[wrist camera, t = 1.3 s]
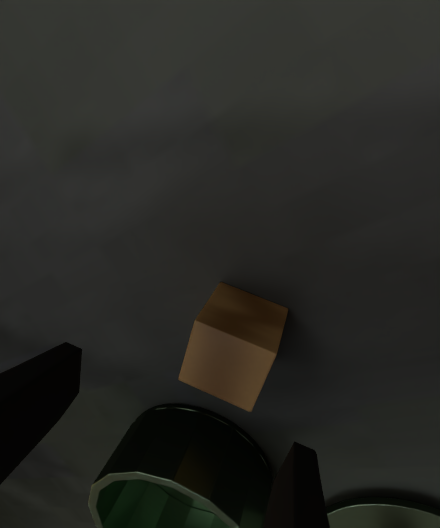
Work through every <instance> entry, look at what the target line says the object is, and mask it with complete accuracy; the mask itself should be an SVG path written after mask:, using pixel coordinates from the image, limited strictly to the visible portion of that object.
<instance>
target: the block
mask: <svg viewBox="0 0 440 528" xmlns="http://www.w3.org/2000/svg"><path fill="white" fill-rule="evenodd" d="M287 313H288V308H286V307H283V306H281V305H278V304H275V303H273V302H270V301H268V300H265V299H263V298H260V297H258V296H255V295H253V294H250V293H248V292H245V291H243V290H240V289H238V288H235V287H233V286H230V285H228V284H225V283H222V282H220V283H219V285H218V286H217V288H216V289H215V291H214V292H213V294H212V295H211V297H210V298H209V300H208V301H207V303H206V304H205V306H204V307H203V309H202V310H201V312H200V313H199V315H198V316H197V318H196V319H195V321H194V325H193V329H192V332H191V336H190V339H189V343H188V346H187V350H186V353H185V357H184V361H183V364H182V368H181V371H180V375H179V378H178V380H180V381H182V382H185V383H187V384H189V385H191V386H193V387H196V388H198V389H200V390H202V391H205V392H207V393H209V394H211V395H213V396H216V397H218V398H220V399H222V400H225V401H227V402H229V403H231V404H233V405H236V406H238V407H240V408H242V409H245V410H247V411H249V412H251V411H252V409H253V407H254V404H255V402H256V400H257V398H258V395H259V393H260V391H261V389H262V386H263V384H264V382H265V380H266V378H267V375H268V373H269V371H270V369H271V366H272V364H273V362H274V360H275V357H276V355H277V352H278V348H279V344H280V340H281V337H282V333H283V329H284V325H285V321H286V317H287Z"/></svg>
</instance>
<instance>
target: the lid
mask: <svg viewBox="0 0 440 528" xmlns="http://www.w3.org/2000/svg"><path fill="white" fill-rule="evenodd" d="M326 511H327V516H328V520H329V525H330V528H440V509H437V508H434V507H431V506H428V505H424V504H421V503H417V502H413V501H408V500H402V499H395V498H386V497H366V498H356V499H350V500H345V501H342V502H339V503H336V504H334V505H331V506H329V507H327V508H326Z"/></svg>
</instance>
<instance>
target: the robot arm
mask: <svg viewBox="0 0 440 528" xmlns="http://www.w3.org/2000/svg"><path fill="white" fill-rule="evenodd" d="M81 355H82V349H81V348H78V347H76V346H74V345H71V344H69V343H67V342H65V343H63V344H61V345H59V346H56V347H54V348H52V349H50V350H48V351H46V352H44V353H42V354H40V355H38V356H36V357H34V358H32V359H30V360H28V361H26V362H24V363H22V364H19V365H17V366H15V367H13V368H11V369H9V370H7V371H5V372H2V373H0V484H1V483H2V482H3V481H4V480H5V479H6V478H7V477H8V476H9V474H10V473H11V472H12V471H13V470H14V469H15V468H16V467H17V466H18V465H19V464H20V462H21V461H22V460H23V459H24V458H25V457H26V456H27V455H28V454H29V453H30V452H31V450H32V449H33V448H34V447H35V446H36V445H37V444H38V443H39V442H40V441H41V440H42V438H43V437H44V436H45V435H46V434H47V433H48V432H49V431H50V430H51V428H52V427H53V426H54V425H55V424H56V423H57V422H58V421H59V419H60V418H61V417H62V415H63V414H64V413H65V411H66V410H67V409H68V407H69V406H70V404H71V403H72V402H73V400H74V399H75V397H76V396H77V395H78V393H79V387H80V371H81ZM264 528H330V525H329V520H328V516H327V511H326V506H325V501H324V496H323V491H322V486H321V480H320V474H319V467H318V460H317V454H316V452H315V450H313V449H310V448H308V447H306V446H303V445H301V444H299V443H296V442H294V443H293V445H292V447H291V449H290V451H289V453H288V455H287V457H286V459H285V461H284V462H283V464H282V466H281V468H280V470H279V472H278V474H277V476H276V478H275V480H274V482H273V486H272V490H271V494H270V498H269V503H268V507H267V512H266V516H265V521H264Z"/></svg>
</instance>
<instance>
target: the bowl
mask: <svg viewBox="0 0 440 528" xmlns="http://www.w3.org/2000/svg"><path fill="white" fill-rule="evenodd" d="M271 490H272V472H271V469H270V466H269V463H268V461H267V459H266V457H265V455H264V453H263V452H262V450H261V449H260V447H259V446H258V445H257V444H256V443H255V441H254V440H253V439H252V438H251V437H250V436H249V435H248V434H247V433H245V432H244V431H243V430H242V429H240V428H239V427H238V426H236V425H235V424H234V423H232V422H231V421H229V420H227V419H225V418H224V417H222V416H220V415H218V414H215V413H213V412H211V411H208V410H205V409H202V408H199V407H195V406H191V405H184V404H165V405H159V406H155V407H153V408H151V409H148V410H147V411H145V412H144V413H142V414H141V415H140V416H139V417H138V418H137V420H136V421H135V422H134V423H132V425H131V426H130V428H129V429H128V431H127V432H126V434H125V435H124V437H123V439H122V440H121V442H120V443H119V445H118V446H117V448H116V449H115V451H114V452H113V454H112V455H111V457H110V459H109V460H108V462H107V463H106V465H105V466H104V468H103V469H102V471H101V472H100V474H99V476H98V477H97V479H96V480H95V482H94V483H93V485H92V488H91V493H90V497H89V502H88V505H89V508H90V511H91V514H92V517H93V519H94V522H95V525H96V527H97V528H264V521H265V516H266V512H267V507H268V503H269V498H270V494H271Z"/></svg>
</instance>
